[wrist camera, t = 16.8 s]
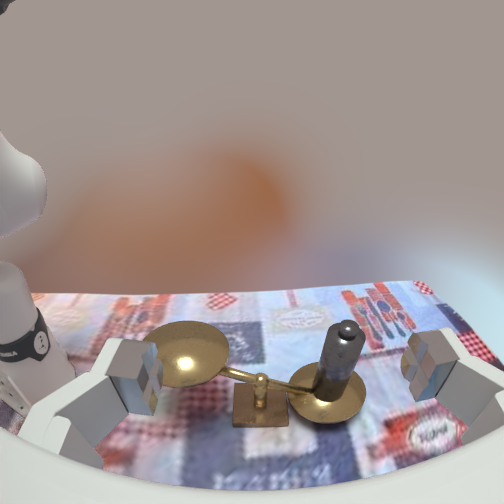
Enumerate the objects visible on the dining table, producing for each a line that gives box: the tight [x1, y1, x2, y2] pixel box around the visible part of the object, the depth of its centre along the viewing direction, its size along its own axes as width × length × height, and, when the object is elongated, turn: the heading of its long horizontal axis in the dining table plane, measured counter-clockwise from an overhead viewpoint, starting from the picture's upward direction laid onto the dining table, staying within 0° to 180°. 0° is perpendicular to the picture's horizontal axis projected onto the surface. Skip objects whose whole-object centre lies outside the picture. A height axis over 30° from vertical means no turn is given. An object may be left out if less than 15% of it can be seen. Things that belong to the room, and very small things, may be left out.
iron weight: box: [311, 320, 366, 402], centre depth 36 cm, size 5×5×12 cm
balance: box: [143, 321, 366, 427], centre depth 37 cm, size 32×12×13 cm, turn 90°
